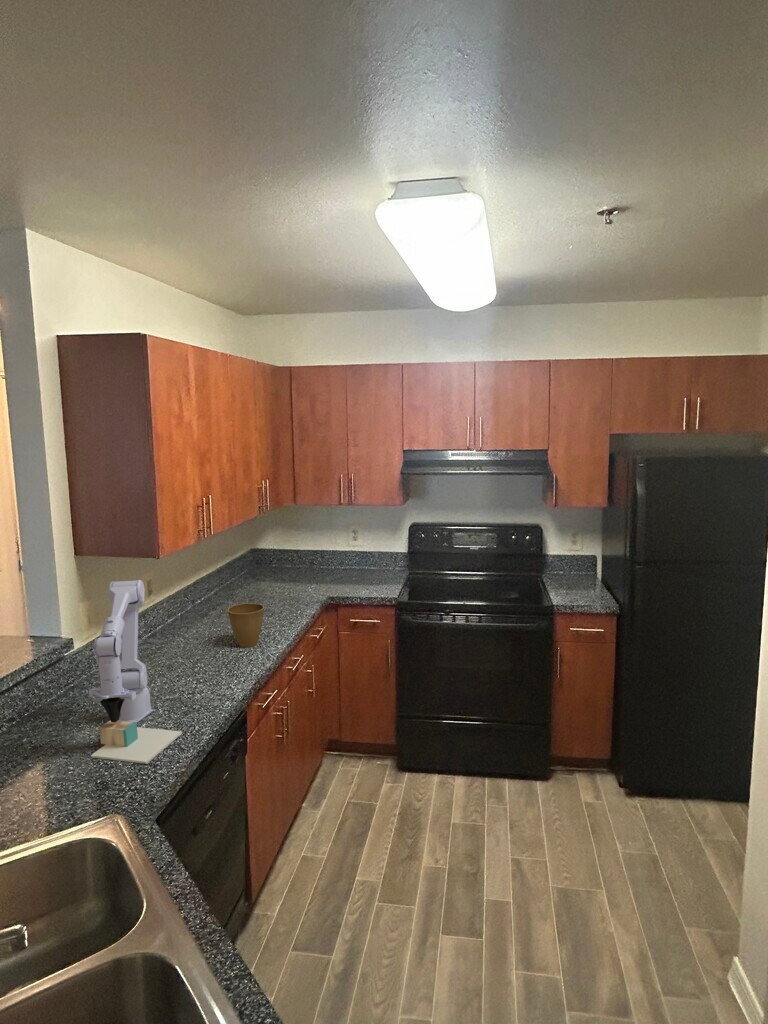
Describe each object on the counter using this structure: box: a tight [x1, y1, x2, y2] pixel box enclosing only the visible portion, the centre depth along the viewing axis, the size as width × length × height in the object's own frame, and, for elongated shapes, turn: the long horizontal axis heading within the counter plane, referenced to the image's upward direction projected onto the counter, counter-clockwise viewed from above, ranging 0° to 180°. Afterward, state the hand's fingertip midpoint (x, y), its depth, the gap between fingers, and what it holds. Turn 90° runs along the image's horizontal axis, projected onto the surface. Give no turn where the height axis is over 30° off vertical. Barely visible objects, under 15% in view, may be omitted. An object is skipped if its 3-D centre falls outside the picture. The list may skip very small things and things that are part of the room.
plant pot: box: [227, 602, 265, 648], centre depth 275 cm, size 15×15×16 cm
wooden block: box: [98, 720, 138, 747], centre depth 194 cm, size 5×5×9 cm
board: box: [90, 726, 183, 765], centre depth 192 cm, size 18×18×1 cm
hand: (115, 720), depth 193 cm, fingers closed
